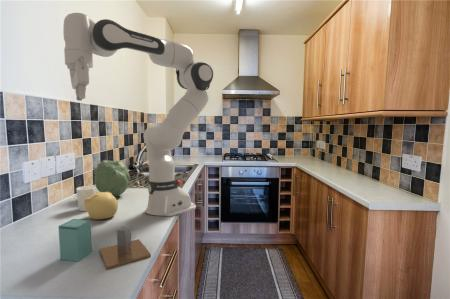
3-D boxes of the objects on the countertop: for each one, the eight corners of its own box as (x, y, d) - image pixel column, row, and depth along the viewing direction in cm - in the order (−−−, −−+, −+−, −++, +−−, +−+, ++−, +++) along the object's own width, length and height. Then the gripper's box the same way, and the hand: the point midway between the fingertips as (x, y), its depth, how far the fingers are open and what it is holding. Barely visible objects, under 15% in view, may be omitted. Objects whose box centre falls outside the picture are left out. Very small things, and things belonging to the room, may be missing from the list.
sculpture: (106, 210, 115) (105, 187, 114) (123, 215, 109) (122, 191, 108) (80, 218, 105) (79, 193, 104) (98, 224, 99) (97, 197, 98)
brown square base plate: (115, 239, 86) (115, 216, 86) (162, 243, 84) (162, 220, 83) (79, 266, 70) (77, 238, 69) (136, 273, 67) (135, 244, 66)
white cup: (99, 208, 117) (98, 187, 116) (80, 213, 111) (79, 190, 110) (93, 205, 122) (92, 184, 121) (74, 208, 117) (73, 187, 116)
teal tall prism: (75, 249, 79) (73, 218, 78) (92, 251, 78) (90, 220, 77) (60, 259, 73) (58, 226, 72) (78, 261, 72) (76, 227, 71)
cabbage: (126, 200, 130) (125, 162, 128) (88, 201, 129) (86, 162, 127) (134, 192, 145) (133, 157, 144) (100, 192, 144) (99, 157, 142)
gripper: (93, 56, 85) (94, 97, 87) (85, 67, 102) (86, 101, 103) (71, 53, 82) (73, 96, 83) (67, 65, 98) (68, 101, 100)
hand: (80, 99), depth 93 cm, fingers open, 8 cm apart
